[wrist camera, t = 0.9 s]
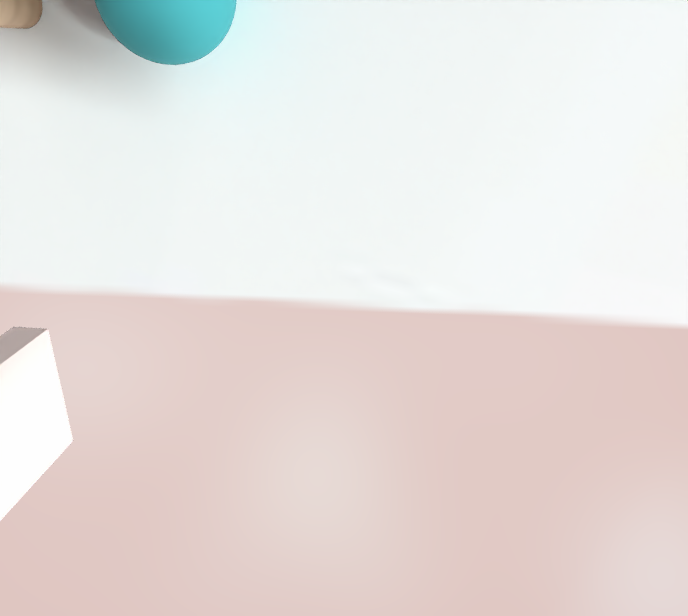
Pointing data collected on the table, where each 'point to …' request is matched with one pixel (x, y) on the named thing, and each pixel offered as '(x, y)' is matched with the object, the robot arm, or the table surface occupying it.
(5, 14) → the pin
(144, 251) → the table surface
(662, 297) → the table surface
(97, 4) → the ball
